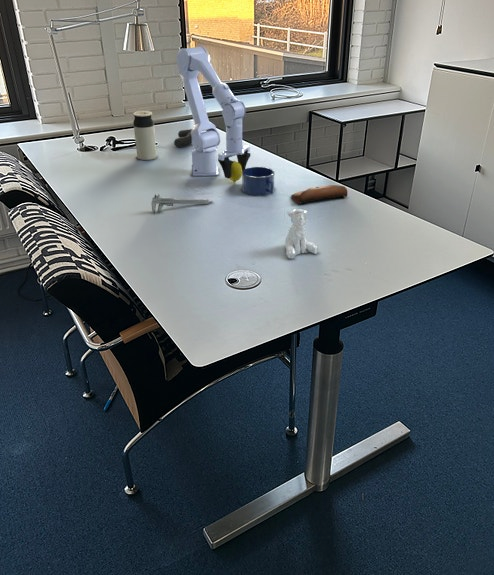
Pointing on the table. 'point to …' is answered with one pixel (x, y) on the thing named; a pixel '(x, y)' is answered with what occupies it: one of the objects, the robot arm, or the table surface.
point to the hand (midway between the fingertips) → (234, 175)
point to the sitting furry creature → (298, 235)
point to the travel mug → (144, 135)
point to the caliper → (174, 202)
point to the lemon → (235, 171)
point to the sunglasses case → (319, 193)
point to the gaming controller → (183, 138)
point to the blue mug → (258, 180)
